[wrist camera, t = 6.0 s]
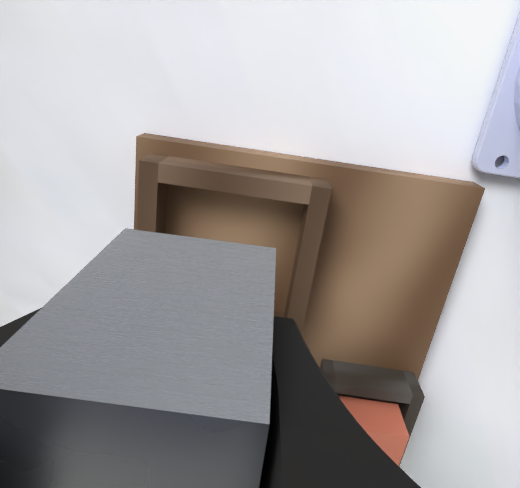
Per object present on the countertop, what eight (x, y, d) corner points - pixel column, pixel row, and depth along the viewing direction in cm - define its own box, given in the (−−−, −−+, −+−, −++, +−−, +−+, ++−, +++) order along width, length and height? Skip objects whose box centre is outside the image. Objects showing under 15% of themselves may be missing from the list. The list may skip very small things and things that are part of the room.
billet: (276, 248, 11) (269, 424, 5) (258, 370, 12) (238, 608, 7) (125, 228, 11) (-38, 383, 5) (125, 353, 12) (-3, 577, 7)
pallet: (473, 182, 17) (505, 199, 14) (382, 452, 22) (394, 497, 20) (144, 133, 17) (121, 142, 14) (135, 415, 22) (117, 456, 20)
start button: (397, 403, 18) (409, 436, 17) (383, 447, 19) (392, 482, 18) (339, 395, 18) (345, 427, 17) (327, 439, 19) (332, 473, 18)
